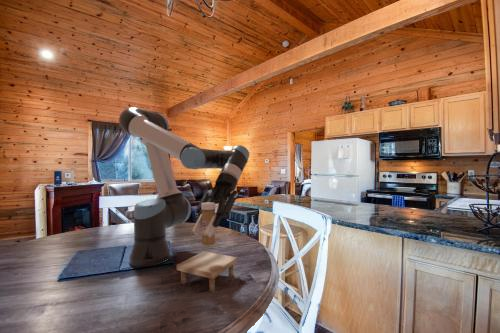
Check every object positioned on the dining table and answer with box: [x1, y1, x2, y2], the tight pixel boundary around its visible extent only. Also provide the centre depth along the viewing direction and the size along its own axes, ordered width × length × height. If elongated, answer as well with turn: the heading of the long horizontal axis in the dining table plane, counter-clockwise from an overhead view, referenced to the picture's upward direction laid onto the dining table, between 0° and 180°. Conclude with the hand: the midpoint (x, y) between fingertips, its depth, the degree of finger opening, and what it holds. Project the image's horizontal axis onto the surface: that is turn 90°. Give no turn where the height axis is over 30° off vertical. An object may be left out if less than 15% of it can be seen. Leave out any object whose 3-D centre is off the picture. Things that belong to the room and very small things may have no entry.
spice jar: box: [201, 202, 216, 247], centre depth 82 cm, size 5×5×14 cm
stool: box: [176, 250, 238, 293], centre depth 82 cm, size 14×14×6 cm
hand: (201, 233), depth 78 cm, fingers closed on spice jar, 4 cm apart
